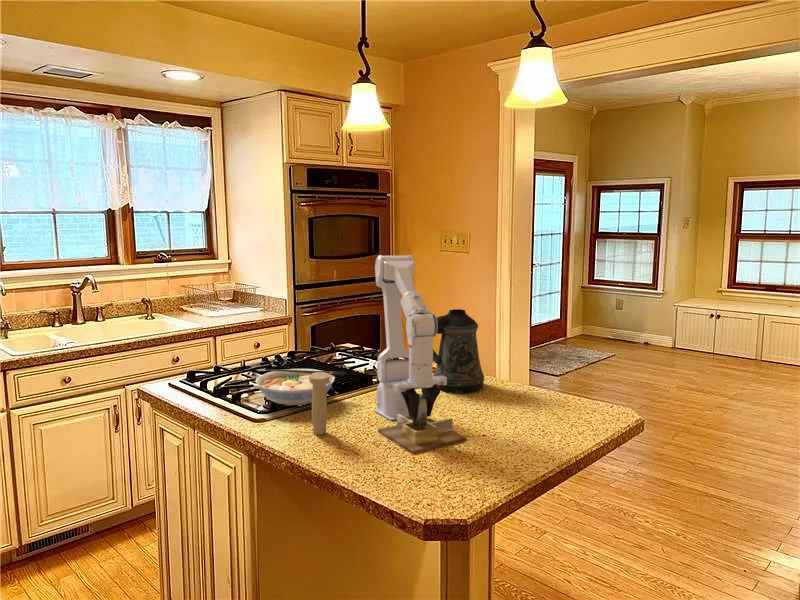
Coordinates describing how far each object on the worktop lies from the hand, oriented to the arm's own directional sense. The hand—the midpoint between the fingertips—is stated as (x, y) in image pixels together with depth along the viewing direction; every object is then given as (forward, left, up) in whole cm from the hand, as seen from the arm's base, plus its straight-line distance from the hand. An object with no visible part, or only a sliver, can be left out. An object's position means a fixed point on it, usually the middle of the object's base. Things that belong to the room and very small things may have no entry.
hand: (419, 416), depth 146 cm
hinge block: (-2, +2, -6) cm, 7 cm away
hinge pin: (0, 0, -2) cm, 2 cm away
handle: (-17, -19, -6) cm, 26 cm away
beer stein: (-31, +35, -6) cm, 47 cm away
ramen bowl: (-42, -15, -6) cm, 45 cm away
